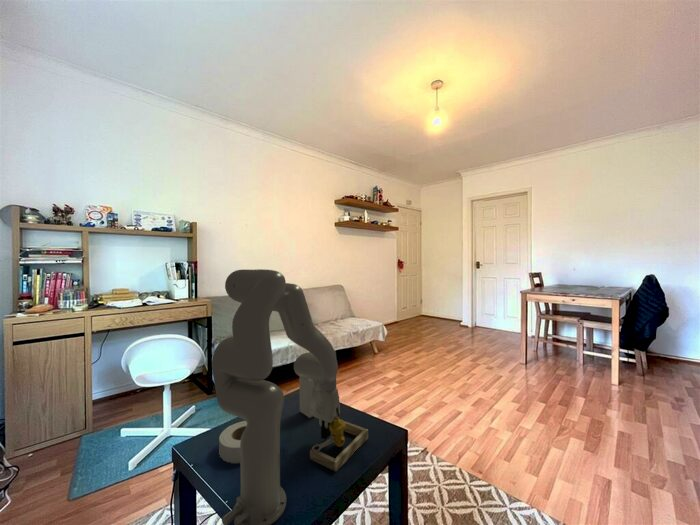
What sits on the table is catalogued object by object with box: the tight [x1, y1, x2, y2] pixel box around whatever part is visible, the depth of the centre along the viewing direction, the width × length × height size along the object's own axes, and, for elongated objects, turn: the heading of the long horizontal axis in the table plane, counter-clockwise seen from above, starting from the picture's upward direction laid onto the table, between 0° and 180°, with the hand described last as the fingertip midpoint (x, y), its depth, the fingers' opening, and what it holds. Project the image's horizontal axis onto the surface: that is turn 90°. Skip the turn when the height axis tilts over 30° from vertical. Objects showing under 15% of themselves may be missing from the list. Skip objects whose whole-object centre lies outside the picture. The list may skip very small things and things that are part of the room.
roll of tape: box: [218, 420, 247, 464], centre depth 95 cm, size 16×16×6 cm
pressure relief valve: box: [311, 417, 346, 452], centre depth 93 cm, size 6×12×10 cm, turn 116°
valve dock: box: [309, 420, 369, 473], centre depth 94 cm, size 19×10×3 cm, turn 147°
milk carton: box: [298, 375, 315, 419], centre depth 117 cm, size 7×7×19 cm
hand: (325, 436), depth 98 cm, fingers closed
